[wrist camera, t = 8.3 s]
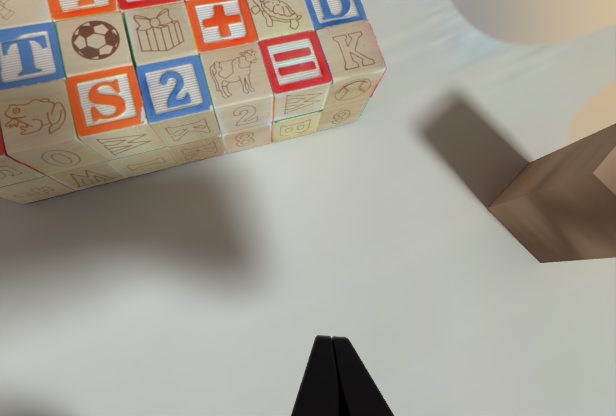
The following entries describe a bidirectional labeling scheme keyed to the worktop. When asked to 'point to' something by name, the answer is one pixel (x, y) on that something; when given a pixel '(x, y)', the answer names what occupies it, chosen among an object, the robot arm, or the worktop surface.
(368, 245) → the worktop surface
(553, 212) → the walnut block
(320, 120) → the stack of blocks
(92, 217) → the worktop surface
